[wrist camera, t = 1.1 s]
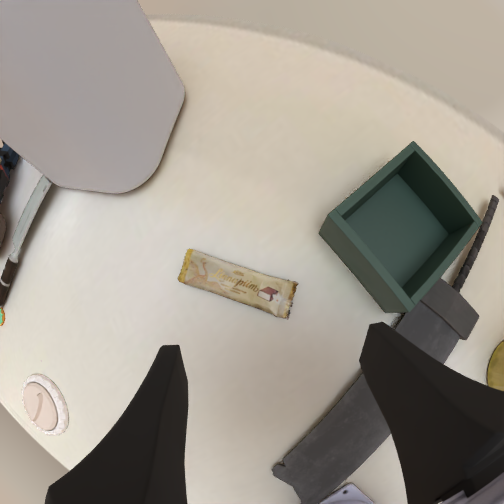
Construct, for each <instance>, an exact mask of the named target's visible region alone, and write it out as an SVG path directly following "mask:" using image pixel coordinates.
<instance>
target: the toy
mask: <svg viewBox="0 0 504 504" xmlns="http://www.w3.org/2000/svg"><path fill="white" fill-rule="evenodd" d="M2 142H3V144H4V145H3V147H2V148H0V203H1V201H2V198H3V192H4V189H5V187H7V185H8V183H9V178H10V176H9V173H10V171H11V169H14V167H15V165H16V163H17V160H18V158H19V156H20V155H19V154H18V153H16V152H15V151H14V150H13V149H12V148H11V147H9V146H8V145H7V144H6V143H5V142H4V141H3V140H2ZM5 227H6V223H5V220H4V217H3V216H2V215H1V213H0V248H1V244H2V241H3V237H4V234H5V231H6V228H5Z"/></svg>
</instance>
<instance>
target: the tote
mask: <svg viewBox="0 0 504 504" xmlns="http://www.w3.org/2000/svg"><path fill="white" fill-rule="evenodd" d="M481 224H482V221H481V219H480V218H479V217H478V215H477V214H476V213H475V211H474V210H473V209H472V207H471V206H470V205H469V203H468V202H467V201H466V200H465V198H464V197H463V196H462V194H461V193H460V192H459V191H458V189H457V188H456V187H455V186H454V185H453V183H452V182H451V181H450V180H449V179H448V178H447V176H446V175H445V174H444V173H443V172H442V171H441V169H440V168H439V167H438V166H437V165H436V164H435V163H434V162H433V161H432V159H431V158H430V157H429V156H428V155H427V154H426V153H425V152H424V151H423V150H422V149H421V148H420V147H419V146H418V145H417V144H416V143H415V142H414V141H413V142H411V143H410V144H409V145H408V146H407V147H406V148H405V149H403V150H402V151H401V152H400V153H399V154H398V155H397V156H395V157H394V158H393V159H392V160H391V161H390V162H389V163H387V164H386V165H385V166H384V167H383V168H382V169H380V170H379V171H378V172H377V173H376V174H375V175H374V176H372V177H371V178H370V179H369V180H368V181H367V182H365V183H364V184H363V185H362V186H361V187H360V188H358V189H357V190H356V191H355V192H354V193H353V194H351V195H350V196H349V197H348V198H347V199H346V200H344V201H343V202H342V203H341V204H340V205H339V206H337V207H336V208H335V209H334V210H333V211H332V212H330V213H329V214H328V215H327V217H326V219H325V221H324V223H323V225H322V227H321V229H320V231H319V234H320V236H321V237H322V238H323V239H324V240H325V241H326V242H327V244H328V245H329V246H330V247H331V248H332V249H333V250H334V252H335V253H336V254H337V255H338V256H339V257H340V259H341V260H342V261H343V262H344V263H345V264H346V266H347V267H348V268H349V269H350V270H351V272H352V273H353V274H354V275H355V276H356V278H357V279H358V280H359V281H360V282H361V284H362V285H363V286H364V287H365V288H366V290H367V291H368V292H369V293H370V295H371V296H372V297H373V298H374V299H375V301H376V302H377V303H378V304H379V306H380V307H381V308H382V309H383V311H384V312H385V313H403V312H410V311H411V310H412V309H413V308H414V307H415V305H416V304H417V303H418V302H419V301H420V300H421V299H422V298H423V297H424V296H425V294H426V293H427V292H428V291H429V290H430V289H431V288H432V287H433V285H434V284H435V283H436V282H437V281H438V280H439V278H440V277H441V276H442V275H443V274H444V272H445V271H446V270H447V269H448V267H449V266H450V265H451V264H452V263H453V261H454V260H455V259H456V257H457V256H458V255H459V254H460V252H461V251H462V250H463V248H464V247H465V246H466V244H467V243H468V242H469V240H470V239H471V238H472V236H473V235H474V234H475V232H476V231H477V229H478V228H479V227H480V225H481Z"/></svg>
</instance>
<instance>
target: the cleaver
mask: <svg viewBox="0 0 504 504" xmlns="http://www.w3.org/2000/svg"><path fill="white" fill-rule="evenodd" d="M50 186H51V182H50V181H49V180H48V178H47V177H46V176H44V175H43V176H42V177H41V179H40V181H39V183H38V184H37V186H36V188H35V190H34V192H33V193H32V195H31V197H30V199H29V201H28V203H27V205H26V207H25V209H24V212H23V214H22V216H21V218H20V220H19V223H18V225H17V228H16V230H15V233H14V235H13V244H14V247H15V250H14V252H13V253H12V254H10V255H9V257H8V260H7V262H6V265H5V268H4V270H3V273H2V276H1V279H0V308H1V307H2V306H3V303H4V300H5V297H6V294H7V291H8V288H9V285H10V283H11V280H12V277H13V274H14V271H15V269H16V266H17V263H18V253H19V250H20V248H21V245H22V243H23V241H24V238H25V236H26V234H27V231H28V229H29V227H30V225H31V223H32V220H33V218H34V216H35V214H36V212H37V210H38V208H39V206H40V204H41V202H42V200H43V199H44V197H45V195H46V193H47V191H48V189H49V188H50Z"/></svg>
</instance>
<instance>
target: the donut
mask: <svg viewBox="0 0 504 504" xmlns="http://www.w3.org/2000/svg"><path fill="white" fill-rule="evenodd" d="M4 321H5V313H4V310H3V308H2V307H1V308H0V326H1V325H3V324H4Z"/></svg>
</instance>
